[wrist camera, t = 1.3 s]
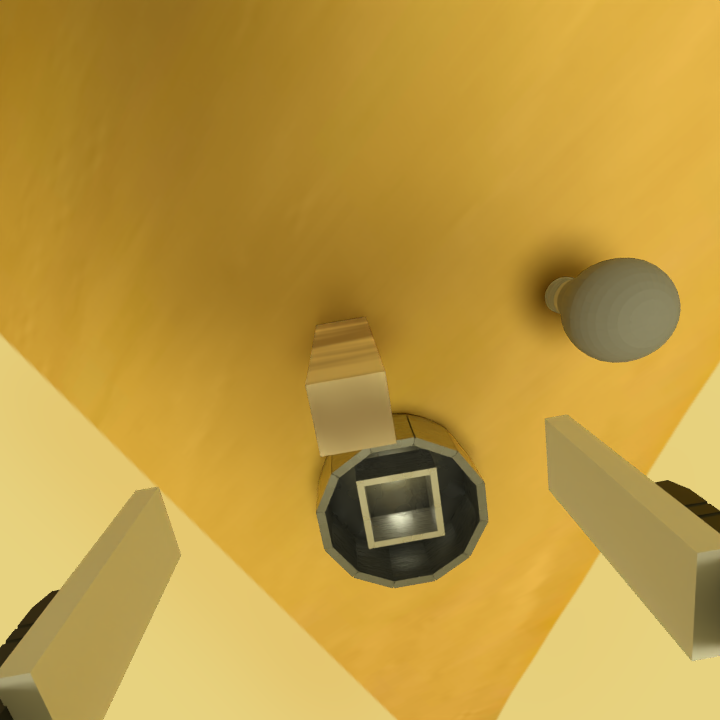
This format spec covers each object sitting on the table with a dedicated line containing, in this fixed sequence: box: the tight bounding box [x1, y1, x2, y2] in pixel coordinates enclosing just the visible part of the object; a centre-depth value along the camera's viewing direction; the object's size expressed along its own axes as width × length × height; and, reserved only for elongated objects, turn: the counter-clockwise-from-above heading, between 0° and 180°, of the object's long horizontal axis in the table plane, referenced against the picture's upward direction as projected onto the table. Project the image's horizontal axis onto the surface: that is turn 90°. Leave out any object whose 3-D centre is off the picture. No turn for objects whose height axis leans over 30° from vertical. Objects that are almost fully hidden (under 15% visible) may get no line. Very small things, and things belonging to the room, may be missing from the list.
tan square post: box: [305, 317, 397, 457], centre depth 27 cm, size 4×4×13 cm
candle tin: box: [316, 414, 488, 588], centre depth 34 cm, size 12×12×4 cm
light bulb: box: [545, 258, 680, 362], centre depth 28 cm, size 6×6×10 cm
